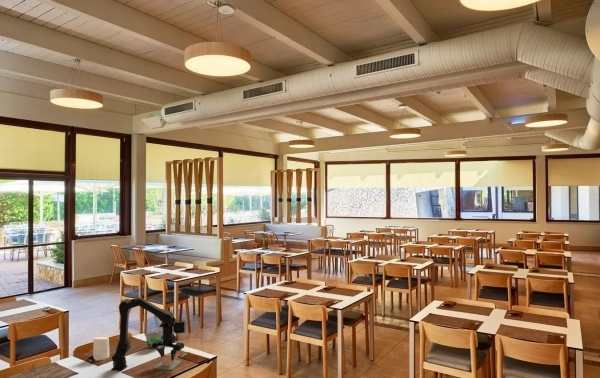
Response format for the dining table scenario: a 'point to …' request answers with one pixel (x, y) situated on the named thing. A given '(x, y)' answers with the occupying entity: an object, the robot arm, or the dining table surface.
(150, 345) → the food container
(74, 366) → the dining table surface
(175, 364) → the place mat
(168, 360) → the terracotta cube
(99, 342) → the white upright block
